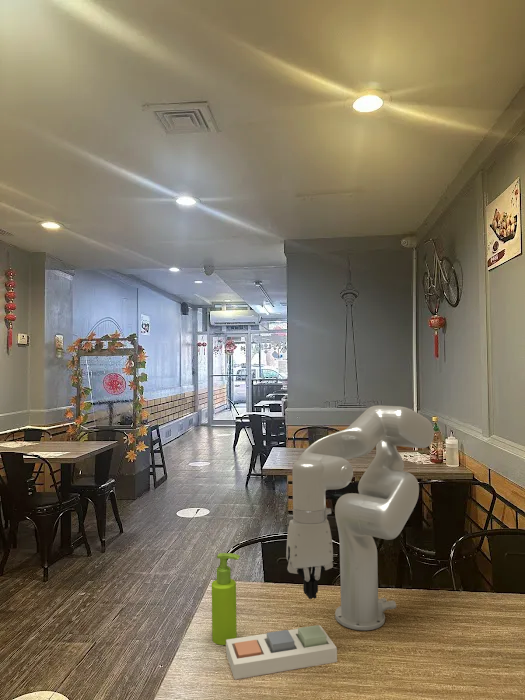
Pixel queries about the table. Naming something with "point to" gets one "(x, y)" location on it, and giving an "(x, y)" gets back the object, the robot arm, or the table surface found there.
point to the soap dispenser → (224, 602)
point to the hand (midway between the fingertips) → (310, 596)
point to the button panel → (278, 656)
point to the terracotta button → (247, 649)
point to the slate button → (280, 641)
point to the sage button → (311, 636)
